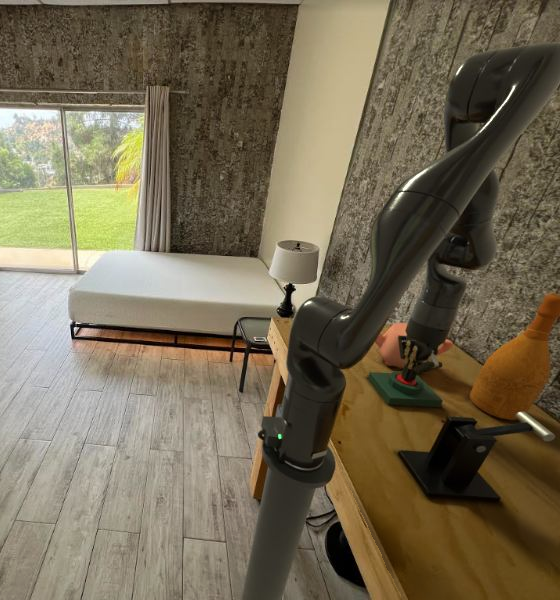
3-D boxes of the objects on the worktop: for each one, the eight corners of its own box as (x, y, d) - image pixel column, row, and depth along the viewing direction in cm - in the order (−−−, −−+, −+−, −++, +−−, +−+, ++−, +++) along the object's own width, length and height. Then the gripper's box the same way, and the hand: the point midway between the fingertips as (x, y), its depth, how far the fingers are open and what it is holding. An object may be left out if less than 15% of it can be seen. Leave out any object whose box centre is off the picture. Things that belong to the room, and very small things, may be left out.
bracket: (459, 457, 64) (486, 410, 59) (498, 502, 56) (534, 452, 51) (397, 454, 65) (418, 407, 60) (426, 497, 57) (454, 447, 52)
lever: (525, 419, 56) (526, 409, 56) (554, 442, 52) (556, 431, 51) (447, 429, 59) (448, 420, 58) (468, 453, 54) (469, 443, 54)
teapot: (360, 340, 104) (370, 307, 99) (437, 359, 94) (453, 324, 89) (357, 361, 94) (369, 326, 88) (444, 385, 84) (462, 346, 79)
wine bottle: (534, 418, 73) (612, 302, 61) (503, 426, 71) (576, 308, 58) (486, 390, 82) (545, 283, 69) (456, 397, 80) (512, 288, 67)
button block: (387, 404, 78) (392, 392, 76) (367, 378, 87) (371, 366, 85) (439, 407, 77) (446, 394, 75) (413, 380, 86) (418, 368, 84)
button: (400, 389, 79) (403, 384, 78) (391, 379, 83) (393, 373, 82) (417, 390, 79) (420, 384, 78) (407, 379, 82) (409, 374, 82)
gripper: (396, 306, 79) (377, 362, 86) (433, 333, 67) (407, 396, 74) (428, 306, 78) (406, 363, 86) (471, 335, 66) (441, 398, 74)
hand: (406, 379), depth 80 cm, fingers closed
